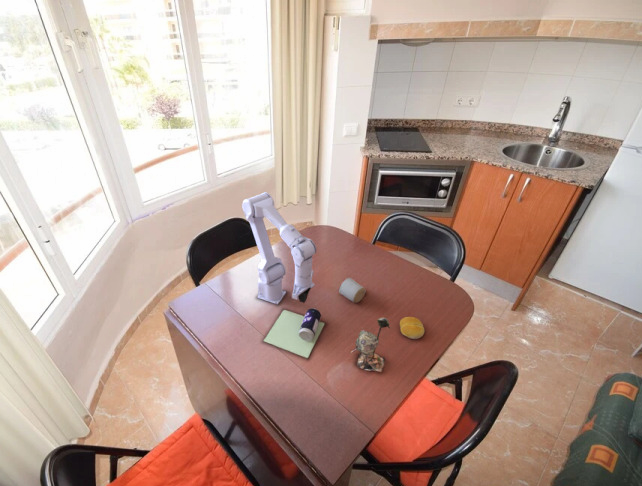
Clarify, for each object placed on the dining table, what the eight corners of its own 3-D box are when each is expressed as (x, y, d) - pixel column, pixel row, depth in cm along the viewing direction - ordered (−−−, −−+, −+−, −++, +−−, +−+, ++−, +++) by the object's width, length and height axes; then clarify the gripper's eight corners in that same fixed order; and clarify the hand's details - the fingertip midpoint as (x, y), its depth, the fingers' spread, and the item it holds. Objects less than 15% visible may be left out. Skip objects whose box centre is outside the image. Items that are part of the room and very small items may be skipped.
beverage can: (315, 304, 120) (306, 328, 110) (324, 314, 121) (316, 339, 112) (304, 309, 123) (294, 333, 114) (313, 319, 124) (305, 343, 115)
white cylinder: (353, 307, 128) (356, 292, 123) (338, 296, 133) (339, 282, 129) (370, 295, 133) (372, 280, 129) (354, 285, 139) (356, 271, 134)
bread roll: (401, 338, 115) (403, 331, 112) (398, 320, 122) (400, 312, 119) (425, 341, 113) (428, 334, 111) (421, 322, 120) (423, 315, 118)
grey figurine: (356, 345, 113) (363, 304, 101) (388, 360, 107) (399, 319, 96) (346, 361, 107) (352, 320, 96) (379, 379, 102) (390, 337, 90)
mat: (263, 341, 115) (263, 340, 115) (284, 310, 128) (283, 309, 127) (307, 358, 109) (307, 358, 109) (324, 323, 121) (324, 323, 121)
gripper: (306, 288, 103) (305, 317, 111) (321, 263, 114) (319, 291, 122) (286, 282, 106) (286, 311, 114) (303, 258, 116) (302, 286, 124)
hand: (302, 301), depth 118 cm, fingers closed
